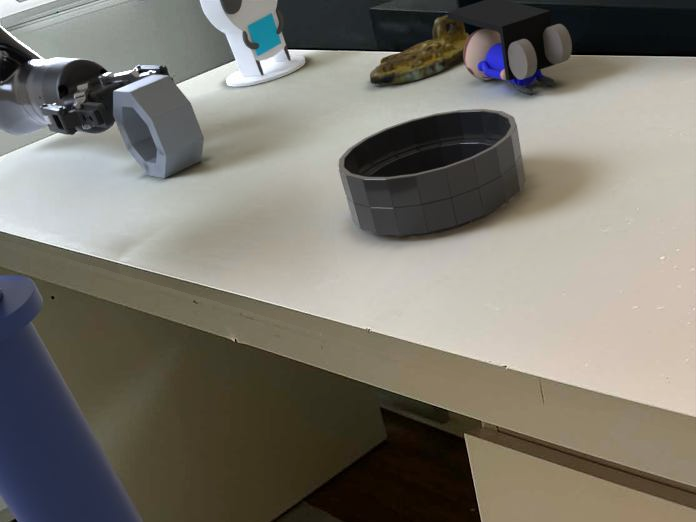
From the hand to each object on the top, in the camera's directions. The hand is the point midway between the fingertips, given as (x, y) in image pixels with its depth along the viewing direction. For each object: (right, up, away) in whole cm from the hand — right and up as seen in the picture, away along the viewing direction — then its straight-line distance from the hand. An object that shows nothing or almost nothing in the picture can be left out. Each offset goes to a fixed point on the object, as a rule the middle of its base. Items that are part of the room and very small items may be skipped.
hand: (139, 101), depth 102 cm
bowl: (+33, -21, -21) cm, 44 cm away
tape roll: (+3, -5, +4) cm, 7 cm away
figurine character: (+41, +2, +1) cm, 41 cm away
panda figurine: (+7, +20, +29) cm, 36 cm away
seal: (+30, +12, +14) cm, 35 cm away
